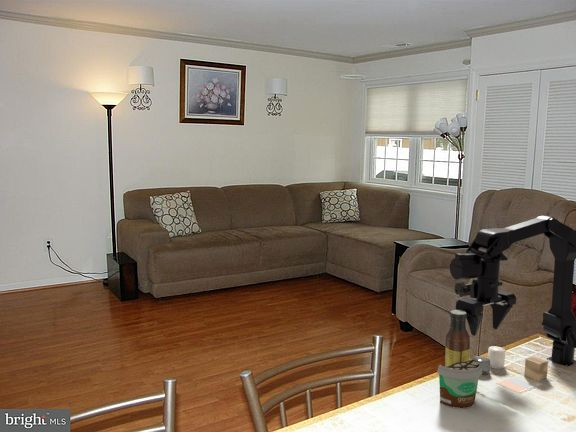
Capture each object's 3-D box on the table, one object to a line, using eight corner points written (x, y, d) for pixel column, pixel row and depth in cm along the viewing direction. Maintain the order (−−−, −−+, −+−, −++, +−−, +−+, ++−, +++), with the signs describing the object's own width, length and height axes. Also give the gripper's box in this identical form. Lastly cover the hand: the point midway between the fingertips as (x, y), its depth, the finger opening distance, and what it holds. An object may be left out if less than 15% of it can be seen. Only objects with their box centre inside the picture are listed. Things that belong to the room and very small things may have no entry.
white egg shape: (493, 363, 153) (495, 345, 152) (507, 368, 149) (508, 350, 148) (484, 366, 150) (485, 348, 150) (497, 372, 147) (498, 353, 146)
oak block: (532, 373, 145) (534, 355, 144) (546, 378, 142) (548, 360, 141) (524, 376, 143) (525, 358, 142) (537, 382, 140) (539, 364, 139)
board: (528, 372, 147) (528, 370, 146) (552, 382, 141) (553, 379, 141) (496, 385, 139) (496, 382, 139) (520, 396, 133) (520, 393, 133)
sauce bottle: (466, 379, 142) (470, 308, 139) (471, 390, 136) (476, 316, 133) (441, 378, 143) (445, 307, 140) (445, 388, 136) (449, 315, 134)
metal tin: (477, 368, 149) (478, 354, 149) (493, 374, 145) (494, 361, 145) (466, 372, 147) (467, 358, 146) (481, 379, 143) (482, 365, 142)
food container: (454, 415, 123) (456, 375, 122) (435, 403, 129) (437, 365, 127) (491, 403, 129) (494, 365, 127) (472, 393, 134) (474, 355, 133)
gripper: (484, 266, 154) (481, 317, 156) (440, 274, 144) (438, 329, 146) (519, 274, 144) (515, 329, 147) (474, 284, 134) (471, 342, 137)
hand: (484, 332), depth 144 cm, fingers open, 9 cm apart
